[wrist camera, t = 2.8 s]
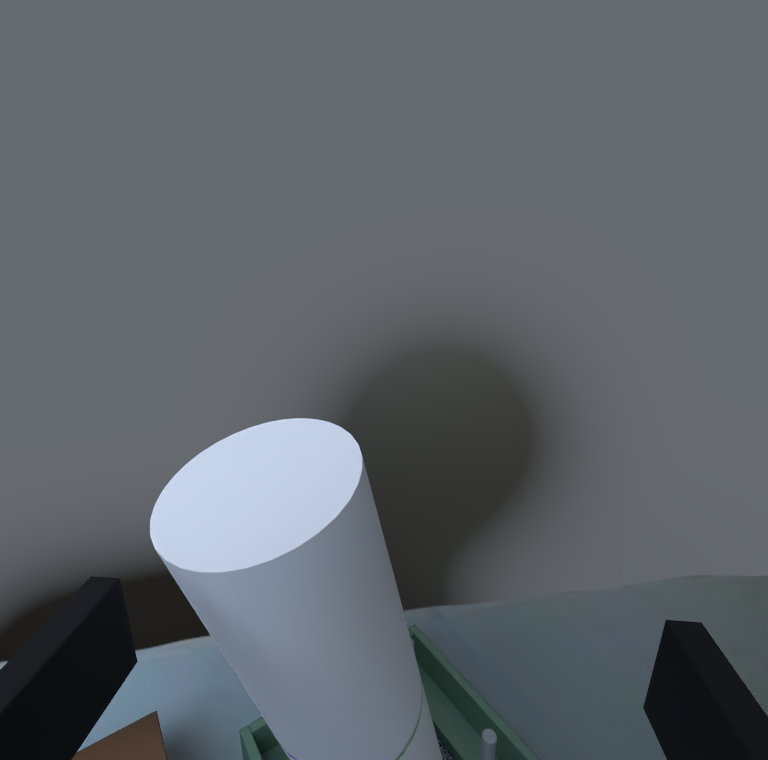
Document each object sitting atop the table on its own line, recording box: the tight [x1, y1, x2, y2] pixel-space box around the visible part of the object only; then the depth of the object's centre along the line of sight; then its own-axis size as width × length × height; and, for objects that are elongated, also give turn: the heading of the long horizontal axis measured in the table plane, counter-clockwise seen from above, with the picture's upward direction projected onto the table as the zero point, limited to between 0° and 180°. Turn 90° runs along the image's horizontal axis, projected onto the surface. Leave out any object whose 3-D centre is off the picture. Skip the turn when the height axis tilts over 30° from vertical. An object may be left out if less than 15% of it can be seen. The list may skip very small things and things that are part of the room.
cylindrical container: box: [150, 418, 443, 760], centre depth 21 cm, size 7×7×25 cm
